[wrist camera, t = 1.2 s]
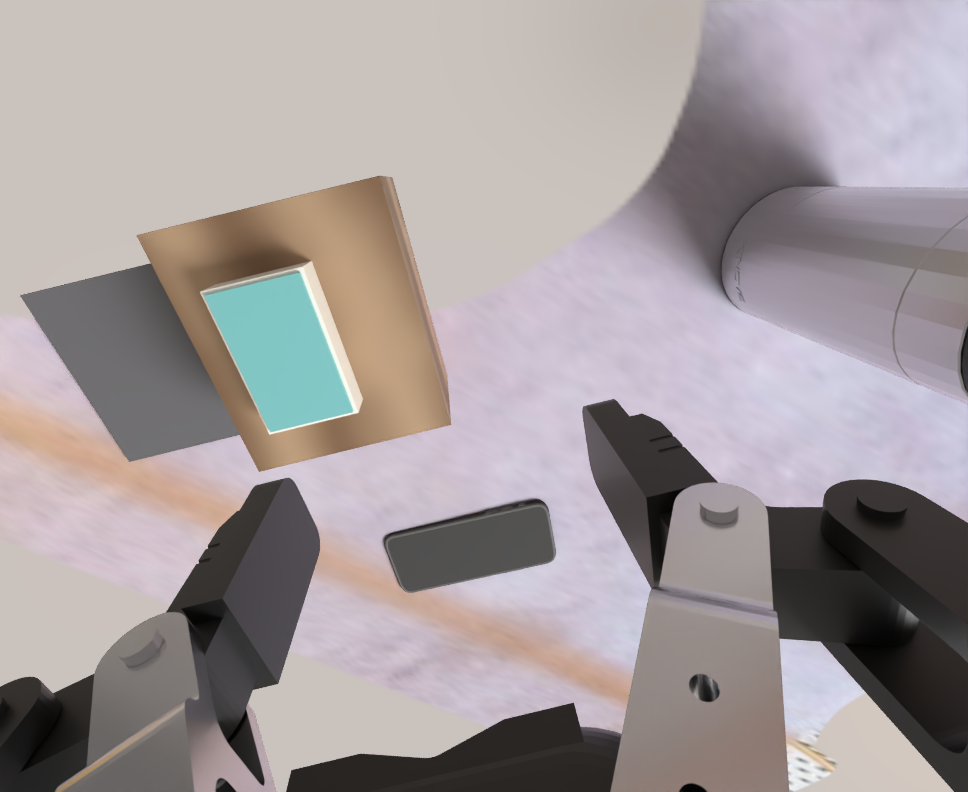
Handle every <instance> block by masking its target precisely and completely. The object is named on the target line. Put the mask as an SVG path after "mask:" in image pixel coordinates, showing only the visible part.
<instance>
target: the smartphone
mask: <svg viewBox="0 0 968 792" xmlns="http://www.w3.org/2000/svg"><path fill="white" fill-rule="evenodd" d="M385 548H386V551H387V553H388V556H389V558H390V561H391V564H392V566H393V569H394V571H395V574H396V576H397V579H398V582H399V584H400V586H401V588H402V589H403V590H404V591H406V592H408V593H413V592H418V591H423V590H427V589H432V588H436V587H441V586H446V585H450V584H455V583H460V582H464V581H469V580H473V579H478V578H483V577H487V576H492V575H496V574H501V573H507V572H511V571H516V570H520V569H524V568H529V567H533V566H538V565H542V564H547V563H550V562H551V561H553V560H554V558H555V555H556V549H555V544H554V538H553V532H552V527H551V521H550V515H549V510H548V507H547V505H546V504H545V503H544V502H543V501H541V500H534V501H529V502H525V503H524V502H522V503H518V504H516V505H509V506H504V507H501V508H498V509H497V508H495V509H491V510H487V511H485V512H481V513H476V514H472V515H468V516H463V517H459V518H455V519H450V520H446V521H442V522H438V523H433V524H429V525H425V526H420V527H416V528H412V529H407V530H403V531H399V532H395V533H391V534H389V535H387V536H386V538H385Z"/></svg>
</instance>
